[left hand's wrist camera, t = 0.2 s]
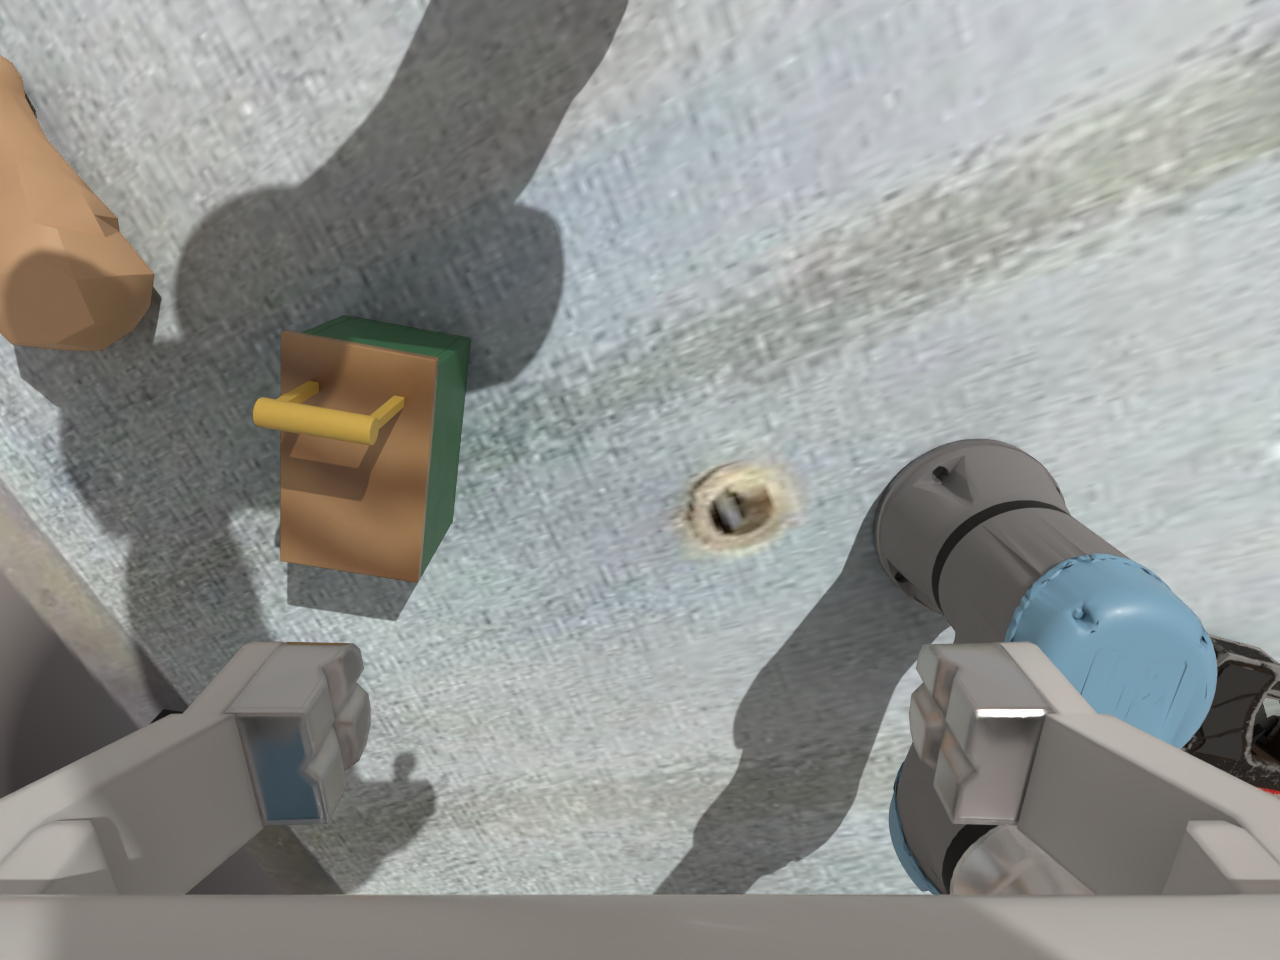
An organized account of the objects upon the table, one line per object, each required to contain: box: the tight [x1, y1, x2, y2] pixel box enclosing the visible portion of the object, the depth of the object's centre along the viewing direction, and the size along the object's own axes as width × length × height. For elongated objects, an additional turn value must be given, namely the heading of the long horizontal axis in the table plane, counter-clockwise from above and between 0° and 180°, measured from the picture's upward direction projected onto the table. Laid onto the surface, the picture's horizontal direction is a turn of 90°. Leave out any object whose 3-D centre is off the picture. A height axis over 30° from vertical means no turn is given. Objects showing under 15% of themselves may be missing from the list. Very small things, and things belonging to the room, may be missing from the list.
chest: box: [302, 315, 471, 576], centre depth 55 cm, size 16×10×10 cm, turn 170°
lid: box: [253, 330, 439, 583], centre depth 46 cm, size 17×10×8 cm, turn 170°
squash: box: [0, 56, 154, 351], centre depth 49 cm, size 11×20×9 cm, turn 19°
